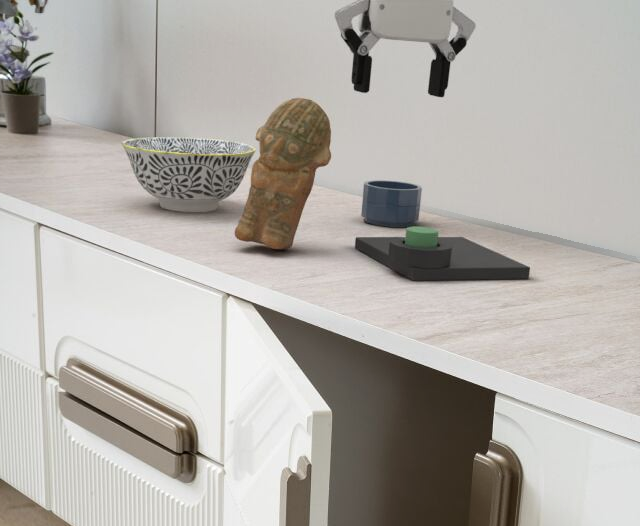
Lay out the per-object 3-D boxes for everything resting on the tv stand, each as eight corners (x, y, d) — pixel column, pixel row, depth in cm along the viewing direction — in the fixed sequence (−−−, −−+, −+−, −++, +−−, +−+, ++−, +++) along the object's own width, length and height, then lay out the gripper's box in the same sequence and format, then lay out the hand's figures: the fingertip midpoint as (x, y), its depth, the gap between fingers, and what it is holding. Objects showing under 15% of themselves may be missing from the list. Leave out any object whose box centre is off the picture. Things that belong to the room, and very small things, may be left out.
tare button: (428, 243, 113) (430, 226, 113) (442, 250, 110) (444, 232, 110) (399, 244, 112) (401, 226, 111) (412, 250, 109) (414, 232, 109)
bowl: (98, 208, 133) (97, 142, 130) (156, 191, 147) (157, 131, 144) (223, 225, 128) (226, 157, 126) (271, 206, 142) (274, 145, 140)
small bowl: (403, 217, 142) (407, 180, 140) (427, 228, 136) (431, 190, 134) (352, 216, 140) (355, 179, 138) (374, 228, 134) (377, 189, 132)
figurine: (230, 251, 116) (236, 97, 110) (257, 238, 123) (264, 93, 117) (308, 261, 114) (318, 106, 108) (331, 247, 121) (341, 101, 115)
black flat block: (461, 247, 126) (464, 220, 125) (529, 279, 114) (533, 249, 112) (345, 248, 121) (347, 220, 120) (402, 281, 109) (405, 250, 107)
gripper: (468, -60, 132) (450, 94, 138) (331, -75, 126) (319, 86, 132) (499, -60, 125) (478, 101, 132) (356, -77, 119) (342, 93, 126)
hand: (398, 93), depth 132 cm, fingers open, 9 cm apart
